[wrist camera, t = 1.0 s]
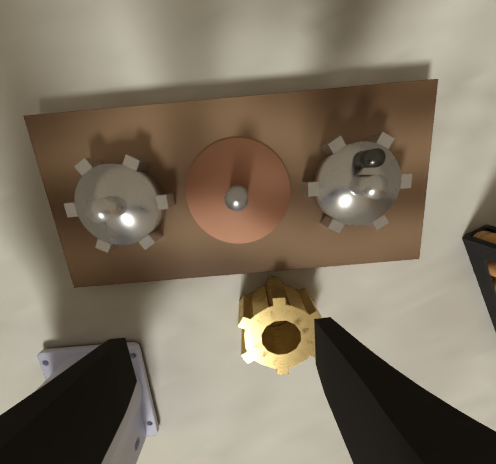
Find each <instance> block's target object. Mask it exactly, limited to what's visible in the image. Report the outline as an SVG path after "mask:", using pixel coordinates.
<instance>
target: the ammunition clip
mask: <svg viewBox="0 0 496 464" xmlns="http://www.w3.org/2000/svg"><path fill="white" fill-rule="evenodd" d="M462 239H463V242H464V245H465V247H466V250H467V253H468V256H469V259H470V261H471V264H472V267H473V270H474V273H475V275H476V278H477V281H478V284H479V287H480V289H481V292H482V295H483V298H484V301H485V303H486V306H487V309H488V312H489V315H490V317H491V320H492V323H493V326H494V329H495V331H496V227H494V226H490V225H485V226H483V227H481V228H479V229H477V230H475V231H473V232H471V233H469V234H467V235H465V236H464V237H463V238H462Z"/></svg>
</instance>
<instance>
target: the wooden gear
mask: <svg viewBox="0 0 496 464" xmlns="http://www.w3.org/2000/svg"><path fill="white" fill-rule="evenodd" d="M318 318H322V317H321V315H320V313H319V311H318V310H317V308H316V306H315V304H314V302H313V300H312V298H311V296H310V295H309V293H308V292H307V291H306V289H305V288H304V289H303V290H301V291H300V292H298V290H297V289H294V288H292V287H290V286H288V285H285V284H282V283H280V279H279V277H270V278H268V284H266V286H265V285H264V286H262V287H261V288H259V289H258V290H256V291H254V292H253V293H252V294H251V295H250V296H249V295H246V294H244V293H243V295H242V297H241V299H240V301H239V317H238V327H240V328H242V343H241V356H242V357H243V358H244V359H245V361H246V362H247V363H250V362H252V361H253V360H255V361H256V362H258V363H260V364H263V365H266V366H268V367H271V368H274V369H275V368H277V374H278V375H282V374H289V367H292V366H295V365H297V364H299V363H300V362H302V361H304V360H306V359H307V358H308V357H309V356H310V355H311V356H313V357H316V356H315V330H314V319H318ZM285 320H286V321H288V322H286V323H284V324H283V325H281V326H270V324H271V323H273V322H275V321H285Z"/></svg>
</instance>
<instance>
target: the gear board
mask: <svg viewBox="0 0 496 464" xmlns="http://www.w3.org/2000/svg"><path fill="white" fill-rule="evenodd" d="M437 84H438V79H431V80H420V81H409V82H398V83H386V84H375V85H364V86H353V87H342V88H330V89H319V90H308V91H297V92H286V93H274V94H263V95H252V96H241V97H230V98H218V99H207V100H196V101H185V102H173V103H162V104H151V105H140V106H129V107H117V108H106V109H95V110H84V111H73V112H61V113H50V114H39V115H28V116H24V119H25V122H26V126H27V129H28V132H29V136H30V139H31V143H32V146H33V149H34V153H35V156H36V160H37V163H38V166H39V170H40V173H41V176H42V180H43V183H44V187H45V190H46V193H47V197H48V200H49V204H50V207H51V210H52V214H53V217H54V220H55V224H56V227H57V231H58V234H59V237H60V241H61V244H62V248H63V251H64V254H65V258H66V261H67V264H68V268H69V271H70V275H71V278H72V281H73V285H74V288H75V287H87V286H99V285H111V284H123V283H135V282H147V281H159V280H171V279H183V278H195V277H207V276H219V275H231V274H243V273H255V272H267V271H279V270H291V269H303V268H315V267H327V266H339V265H351V264H363V263H375V262H387V261H399V260H411V259H419V256H420V247H421V237H422V228H423V218H424V209H425V199H426V189H427V180H428V170H429V161H430V151H431V142H432V132H433V123H434V113H435V103H436V94H437ZM380 132H384V133H386V134H387V135H389V136H391V137H393V138H395V139H394V141H393V143H392V144H391V146H390V148H389V149H388V150H389V151H390V152H391V153H392V154H393V155H394V156H395V158H396V160H397V162H398V164H399V167H400V171H401V174H412V183H411V188H404V189H400V190H399V194H398V196H397V198H396V200H395V202H394V204H393V205H392V206H391V208H390V209H389V210H388V211H387V212H386V213H385V214H384V215H385V216H386V218H387V220H388V222H389V223H388V224H386V225H385V226H383V227H382V228H380V229H378V230H375V229H373V228H371V227H368V226H366V225H347V224H344V227H343V228H342V230H341V232H340V233H337V232H335V231H333V230H331V229H329V228H327V227H326V226H324V225H323V224H321V223H320V222H321V220H322V218H323V217H324V215H325V214H324V213H323V212H322V211H321V210H320V209H319V208H318V206H317V205H316V203H315V201H314V198H313V196H311V197H308V196H305V195H303V194H302V182H303V181H312V178H313V174H314V171H315V169H316V167H317V165H318V164H319V162H320V161H321V160H322V159H323V158H324V157H325V156H324V154H323V152H322V151H321V149H320V147H321V146H322V145H323V144H325V143H326V142H328V141H329V140H331V139H333V138H335V137H338V136H341V137H342V139H343V140H344V142H345V144H346V145H348V144H352V143H356V142H365V141H366V139H367V137H368V136H370V135H373V134H377V133H380ZM126 154H127V155H134V156H139V157H141V158H143V159H145V160H147V161H149V162H150V164H149V167H148V170H147V172H148V173H149V174H151V175H152V176H153V177H154V178H155V179H156V180H157V182H158V183H159V185H160V186H161V188H162V190H163V192H164V193H174V196H175V202H176V205H175V206H173V207H171V208H169V209H166V212H165V216H164V219H163V221H162V223H161V224H160V226H159V227H158V228H157V229H158V230H159V231H160V232H161V233H162V235H163V237H162V238H160V239H159V240H158V241H157V242H155V243H154V244H153V245H151V246H150V247H148V248H147V249H146V250H145V249H144V248H143V247H142V246H141V244H140V243H139V241H138V242H136V243H133V244H129V245H121V246H119V247H117V248H116V249H114V250H112V251H111V252H109V253H107V252H104V251H102V250H100V249H97V248H95V246H96V243H97V240H98V238H97V237H95V236H94V235H93V234H91V233H90V232H89V231H88V230H87V229H86V228H85V226H84V225H83V224H82V222H81V221H80V219H79V217H78V216H77V217H67V214H66V210H65V207H64V203H70V202H75V200H74V198H75V190H76V187H77V184H78V182H79V180H80V179H81V177H82V175H81V174H80V173H79V172H78V171H77V169H76V168H75V167H74V166H75V165H77V164H78V163H79V162H80V161H81V160H83V159H84V158H91V159H101V160H102V161H103V162H104V164H123V161H124V158H125V155H126ZM235 184H241V185H243V186H245V187H246V189H247V191H248V198H249V200H248V204H247V206H246V207H245V208H244V209H243V210H241V211H233V210H230V209H229V208H228V207H227V206H226V204H225V199H224V198H225V194H226V192H227V191H228V190H229V189H230V188H231V187H232V186H233V185H235ZM326 216H327V215H326ZM342 224H343V223H342ZM157 229H156V230H157ZM140 241H141V240H140Z"/></svg>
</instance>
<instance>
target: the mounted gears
mask: <svg viewBox="0 0 496 464" xmlns="http://www.w3.org/2000/svg"><path fill="white" fill-rule="evenodd" d="M394 139H395V138H393V137H391V136H389V135H387V134H386V133H384V132H380V133H377V134H373V135H370V136H368V137H367V139H366V141H365V142H356V143H352V144H348V145H346V144H345V142H344V140H343V139H342V137H341V136H338V137H335V138H333V139H331V140H329V141H328V142H326V143H325V144H323V145H322V146H321V147H320V149H321V151H322V152H323V154H324V156H325V157H324V158H323V159H322V160H321V161H320V162H319V164H318V165H317V167H316V169H315V171H314V174H313V178H312V181H303V182H302V194H303V195H305V196H308V197H311V196H313V198H314V201H315V203H316V205H317V206H318V208H319V209H320V210H321V211H322V212H323V213H324V214H325V215H324V217H323V218H322V220H321V222H320V223H321V224H323V225H324V226H326V227H327V228H329V229H331V230H333V231H335V232H337V233H340V232H341V230H342V228H343V227H344V224H347V225H366V226H368V227H371V228H373V229H375V230H378V229H380V228H382V227H383V226H385V225H386V224H388V223H389V222H388V220H387V218H386V216H385V215H384V214H385V213H386V212H387V211H388V210H389V209H390V208H391V206H392V205H393V204H394V202H395V200H396V198H397V196H398V194H399V190H400V189H404V188H411V183H412V174H401V171H400V167H399V164H398V162H397V160H396V158H395V156H394V155H393V154H392V153H391V152H390V151H389V150H388V149H389V148H390V146H391V144H392V143H393V141H394ZM149 164H150V162H149V161H147V160H145V159H143V158H141V157H139V156H134V155H127V154H126V155H125V158H124V161H123V164H104V162H103V161H102V160H101V159H91V158H84V159H83V160H81V161H80V162H79V163H78V164H77V165H75V166H74V167H75V168H76V169H77V171H78V172H79V173H80V174H81V175H82V177H81V179H80V180H79V182H78V184H77V187H76V190H75V198H74V200H75V202H70V203H64V207H65V210H66V214H67V217H77V216H78V217H79V219H80V221H81V222H82V224H83V225H84V226H85V228H86V229H87V230H88V231H89V232H90V233H91V234H93V235H94V236H95V237H97V238H98V240H97V243H96V246H95V248H97V249H100V250H102V251H104V252H107V253H109V252H111V251H112V250H114V249H116V248H117V247H119V246H121V245H129V244H133V243H136V242H138V241H139V243H140V244H141V246H142V247H143V248H144V249H145V250H146V249H147V248H148V247H150V246H151V245H153V244H154V243H155V242H157V241H158V240H159V239H160V238H162V237H163V235H162V233H161V232H160V231H159V230H158V229H157V228H158V227H159V226H160V224H161V223H162V221H163V219H164V216H165V212H166V209H169V208H171V207H173V206H175V205H176V202H175V196H174V193H164V192H163V190H162V188H161V186H160V185H159V183H158V182H157V180H156V179H155V178H154V177H153V176H152V175H151V174H149V173H148V172H147V170H148V167H149ZM224 199H225V204H226V206H227V207H228V208H229V209H230V210H233V211H241V210H243V209H244V208H245V207H246V206H247V204H248V200H249V198H248V191H247V189H246V187H245V186H243V185H241V184H235V185H233V186H232V187H231V188H230V189H229V190H228V191H227V192H226V194H225V198H224ZM326 215H327V216H326ZM342 223H343V224H342ZM156 229H157V230H156ZM140 240H141V241H140Z"/></svg>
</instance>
